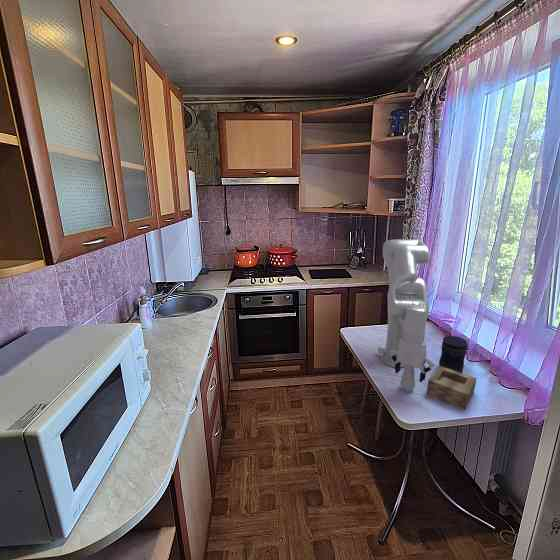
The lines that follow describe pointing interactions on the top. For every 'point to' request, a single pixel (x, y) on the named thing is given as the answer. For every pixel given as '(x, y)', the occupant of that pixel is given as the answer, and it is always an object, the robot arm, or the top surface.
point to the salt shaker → (408, 379)
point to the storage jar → (453, 353)
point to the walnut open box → (451, 387)
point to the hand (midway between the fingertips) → (409, 376)
